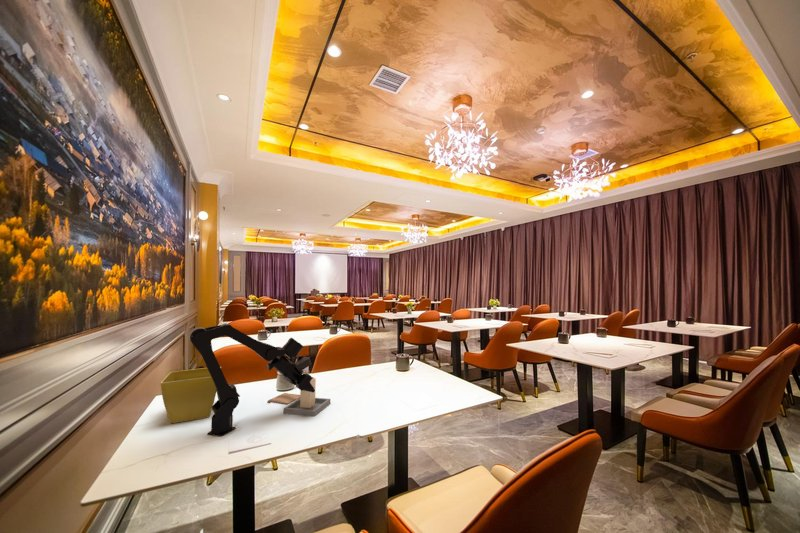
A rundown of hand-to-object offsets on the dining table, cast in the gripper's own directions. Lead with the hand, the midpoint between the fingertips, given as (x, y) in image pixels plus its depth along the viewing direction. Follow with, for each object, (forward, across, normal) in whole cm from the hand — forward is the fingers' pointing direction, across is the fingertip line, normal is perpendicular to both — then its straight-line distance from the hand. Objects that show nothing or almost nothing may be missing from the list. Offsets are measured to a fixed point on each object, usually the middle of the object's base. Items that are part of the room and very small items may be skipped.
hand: (311, 389), depth 132 cm
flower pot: (-23, +25, +35) cm, 48 cm away
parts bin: (+5, 0, +7) cm, 8 cm away
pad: (+2, +18, +9) cm, 20 cm away
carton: (+4, 0, +6) cm, 7 cm away
